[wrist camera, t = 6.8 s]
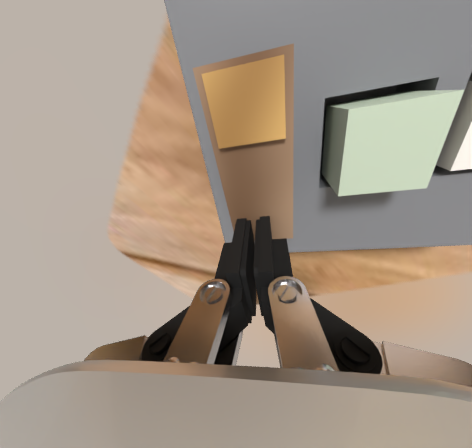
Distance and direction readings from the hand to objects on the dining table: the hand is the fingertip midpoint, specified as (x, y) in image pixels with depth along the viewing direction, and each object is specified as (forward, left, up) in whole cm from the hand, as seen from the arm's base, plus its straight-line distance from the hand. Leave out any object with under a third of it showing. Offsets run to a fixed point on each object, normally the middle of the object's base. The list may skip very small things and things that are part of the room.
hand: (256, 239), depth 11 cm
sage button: (-6, -4, -3) cm, 8 cm away
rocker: (0, -4, 0) cm, 4 cm away
